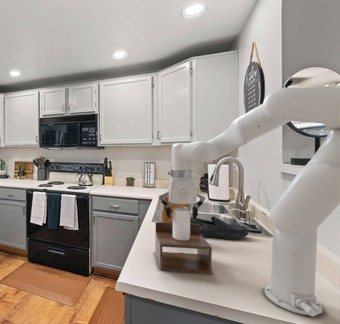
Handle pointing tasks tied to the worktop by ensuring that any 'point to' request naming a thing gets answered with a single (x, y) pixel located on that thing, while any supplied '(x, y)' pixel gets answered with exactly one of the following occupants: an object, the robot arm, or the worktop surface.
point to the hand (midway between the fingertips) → (181, 217)
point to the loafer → (219, 228)
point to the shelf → (182, 260)
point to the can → (181, 224)
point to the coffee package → (172, 206)
